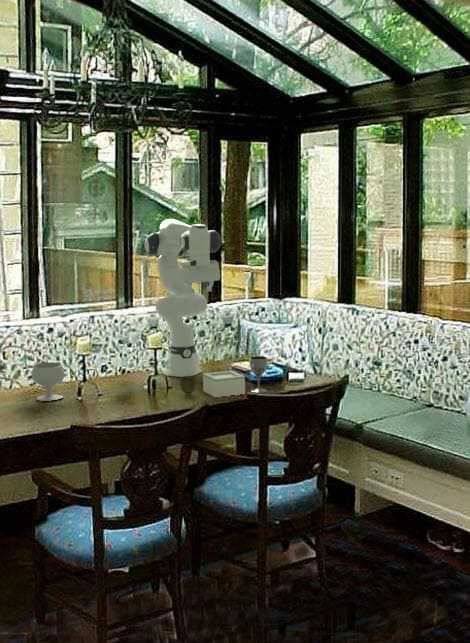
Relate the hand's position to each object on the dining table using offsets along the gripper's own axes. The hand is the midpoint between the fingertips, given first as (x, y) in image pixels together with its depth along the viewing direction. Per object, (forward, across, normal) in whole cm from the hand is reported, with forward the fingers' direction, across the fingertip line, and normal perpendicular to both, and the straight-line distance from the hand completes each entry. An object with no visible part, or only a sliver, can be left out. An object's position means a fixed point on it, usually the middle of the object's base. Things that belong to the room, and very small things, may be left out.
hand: (200, 292), depth 395 cm
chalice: (+44, +61, -29) cm, 81 cm away
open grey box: (+44, -2, +13) cm, 46 cm away
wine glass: (+44, -15, +21) cm, 51 cm away
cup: (+44, +13, +7) cm, 46 cm away
